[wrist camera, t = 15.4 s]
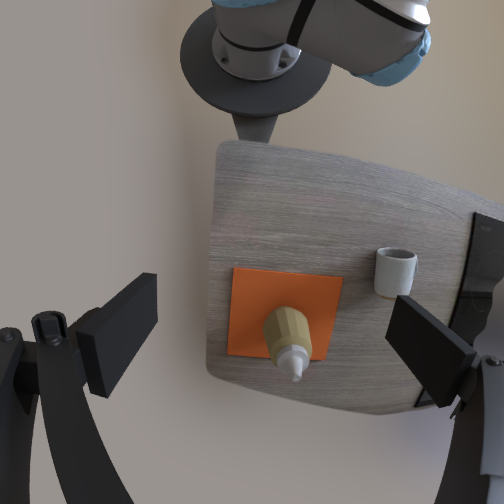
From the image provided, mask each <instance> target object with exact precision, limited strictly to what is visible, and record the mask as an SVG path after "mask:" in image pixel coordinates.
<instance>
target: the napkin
mask: <svg viewBox="0 0 504 504" xmlns="http://www.w3.org/2000/svg"><path fill="white" fill-rule="evenodd" d="M342 283H343V277H332V276H320V275H309V274H297V273H286V272H275V271H265V270H254V269H244V268H234V271H233V283H232V296H231V308H230V321H229V334H228V348H227V354H229V355H240V356H251V357H264V358H270V355H269V352H268V348H267V344H266V341H265V337H264V334H263V325H264V322H265V320H266V319H267V317H268V315H269V314H270V313H271V312H272V311H273V310H274V309H275V308H277V307H280V306H290V307H292V308H294V309H296V310H298V311H300V312H302V314H303V315H304V316H305V317H306V318H307V322H308V327H309V333H310V339H311V345H312V355H311V358H310V359H309V360H325V357H326V353H327V349H328V346H329V342H330V338H331V333H332V329H333V325H334V321H335V316H336V312H337V307H338V303H339V298H340V293H341V288H342Z"/></svg>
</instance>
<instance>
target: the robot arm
mask: <svg viewBox="0 0 504 504" xmlns="http://www.w3.org/2000/svg"><path fill="white" fill-rule="evenodd" d="M211 1H212V5H213V10H214V14H215V18H216V22H217V25H218V26H217V28H216V30H215V33H214V35H213V39H212V52H213V55H214V58H215V61H216V62H217V64H218V65H219V67H220V68H221V69H222V70H223V71H224V72H226V73H227V74H228V75H230V76H232V77H234V78H236V79H239V80H243V81H247V82H267V81H271V80H275V79H277V78H280V77H282V76H284V75H285V74H287V73H288V72H289V71H290V70H291V69H292V68H293V67H294V66H295V64H296V63H297V61H298V58H299V56H300V52H301V50H303V51H306V52H308V53H310V54H313V55H315V56H317V57H320V58H322V59H324V60H326V61H328V62H331V63H333V64H335V65H337V66H339V67H341V68H343V69H345V70H347V71H349V72H350V73H351V74H352V75H353V76H355V77H359V78H362V79H364V80H366V81H368V82H370V83H372V84H374V85H377V86H385V87H386V86H391V85H394V84H396V83H398V82H400V81H402V80H403V79H405V78H406V77H407V76H408V75H410V74H411V73H412V72H413V71H414V70H415V69H416V68H417V67H418V66H419V64H420V63H421V62H422V57H423V56H424V55H425V54H427V52H428V49H429V47H430V43H431V38H430V34H429V32H428V31H427V29H426V27H427V26H428V24H429V23H430V19H429V15H428V12H427V9H426V4H427V3H428V2H429V0H211ZM157 322H158V316H157V274H151V273H142V274H141V275H140V276H139V277H137V278H136V279H135V280H134V281H132V282H131V283H130V284H129V285H127V287H125V288H124V289H123V290H122V291H120V292H119V293H118V294H117V295H116V296H115V297H114V298H112V299H111V300H110V301H109V302H107V303H106V304H105V305H104V306H103V307H102V308H98V307H97V308H94V309H92V310H89V311H87V312H86V313H85V314H84V315H83V316H82V317H80V318H79V319H78V320H77V322H74V323H73V324H72V325H71V326H70V327H68V328H67V323H66V318H65V316H64V314H63V313H61V312H57V311H45V312H41V313H39V314H36V315H35V316H34V317H33V318H32V320H31V323H32V327H33V331H34V336H35V339H36V342H29V341H23V337H22V334H21V332H20V330H19V329H17V328H8V327H6V328H2V329H0V504H30V494H29V483H30V482H29V481H30V458H31V446H32V436H33V428H34V420H35V414H36V408H37V403H38V397H39V395H40V398H41V405H42V412H43V418H44V423H45V429H46V434H47V438H48V443H49V447H50V451H51V455H52V459H53V463H54V466H55V470H56V473H57V476H58V479H59V483H60V485H61V489H62V491H63V494H64V497H65V500H66V502H67V504H134V502H133V501H132V499H131V497H130V496H129V494H128V492H127V491H126V489H125V487H124V485H123V483H122V481H121V479H120V478H119V476H118V474H117V472H116V470H115V468H114V466H113V464H112V462H111V460H110V458H109V455H108V453H107V451H106V449H105V447H104V445H103V442H102V440H101V438H100V435H99V432H98V430H97V428H96V425H95V422H94V420H93V417H92V414H91V412H90V409H89V406H88V403H87V400H86V397H85V394H84V391H83V386H84V385H85V384H86V382H87V383H88V386H89V390H90V393H91V394H95V395H98V396H101V397H105V398H107V399H108V397H109V396H110V394H111V392H112V391H113V389H114V387H115V386H116V384H117V383H118V381H119V380H120V378H121V377H122V375H123V373H124V372H125V370H126V369H127V367H128V366H129V364H130V362H131V361H132V359H133V358H134V356H135V355H136V353H137V352H138V350H139V349H140V347H141V346H142V344H143V343H144V341H145V340H146V338H147V337H148V335H149V334H150V332H151V331H152V329H153V328H154V326H155V325H156V323H157ZM385 339H386V340H387V341H388V342H389V343H390V345H391V346H392V347H393V348H394V350H395V351H396V352H397V354H398V355H399V356H400V357H401V359H402V360H403V361H404V362H405V364H406V365H407V366H408V368H409V369H410V370H411V371H412V373H413V374H414V375H415V377H416V378H417V379H418V381H419V382H420V383H421V385H422V386H423V387H424V389H425V390H426V391H427V393H428V394H429V395H430V397H431V398H432V399H433V401H434V402H435V403H436V405H437V406H438V407H439V408H442V407H446V406H450V405H451V404H452V402H453V401H454V399H455V397H456V395H457V394H458V395H459V397H460V398H461V399H460V401H459V403H458V404H457V406H456V408H455V409H454V411H453V413H452V414H451V416H450V419H452V417H453V416H454V415H456V417H455V419H454V420H455V424H454V430H453V435H452V440H451V445H450V450H449V454H448V458H447V463H446V466H445V470H444V474H443V477H442V481H441V484H440V487H439V491H438V494H437V497H436V500H435V503H434V504H504V364H503V362H502V361H501V360H500V359H498V358H497V357H495V356H491V355H484V356H482V357H480V356H479V355H478V354H477V352H476V351H475V350H474V349H473V348H472V347H471V346H469V345H468V344H467V343H466V342H465V341H464V340H462V339H461V338H460V337H459V336H458V335H456V334H455V333H454V332H453V331H452V330H450V329H449V328H448V327H447V326H446V325H444V324H443V323H442V322H441V321H439V320H438V319H437V318H436V317H434V316H433V315H432V314H431V313H429V312H428V311H427V310H426V309H424V308H423V307H422V306H421V305H419V304H418V303H417V302H416V301H414V300H413V299H412V298H410V297H409V296H408V295H397V298H396V301H395V305H394V309H393V312H392V316H391V320H390V323H389V326H388V330H387V333H386V336H385Z"/></svg>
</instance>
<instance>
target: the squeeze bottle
mask: <svg viewBox="0 0 504 504" xmlns="http://www.w3.org/2000/svg"><path fill="white" fill-rule="evenodd" d="M263 334H264V337H265V341H266V344H267V348H268V352H269V355H270V358H271V361H272V363H273V364H274V365H275V366H276V367H278V369H279V370H280V371H281V372H282V373H284V374H286V375H290V377H291V378H292V380H293V381H294V382H298V381H300V380H301V375H302V372H303V371H305V369H306V368H307V367H308V364H309V359H310V358H311V355H312V345H311V339H310V333H309V327H308V322H307V318H306V317H305V316H304V315H303V314H302V312H300V311H298V310H296V309H294V308H292V307H290V306H280V307H277V308H275V309H274V310H273V311H272V312H271V313H270V314H269V315H268V317H267V319H266V320H265V322H264V325H263Z"/></svg>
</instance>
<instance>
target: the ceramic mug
mask: <svg viewBox="0 0 504 504" xmlns="http://www.w3.org/2000/svg"><path fill="white" fill-rule="evenodd" d="M417 269H418V260H417V256H416V254H415V253H414V252H411V251H408V250H405V249H400V248H381V249H379V250H377V255H376V269H375V279H374V290H375V292H376V294H377V295H378V296H380V297H381V298H384V299H387V300H396V298H397V295H408V294H409V292H410V290H411V286H412V281H413V280H414V278H415V276H416V273H417Z"/></svg>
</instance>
